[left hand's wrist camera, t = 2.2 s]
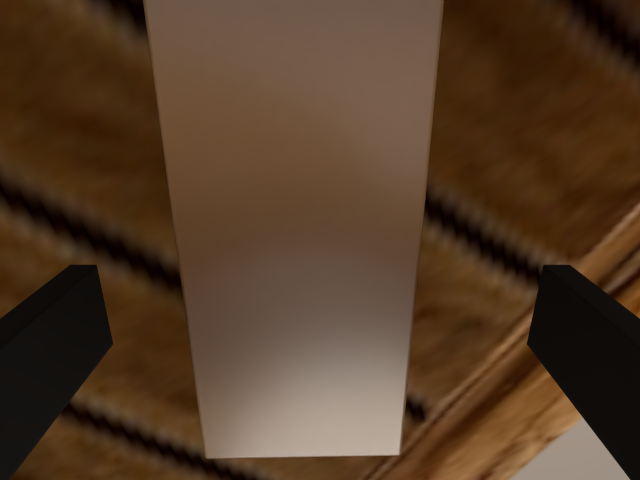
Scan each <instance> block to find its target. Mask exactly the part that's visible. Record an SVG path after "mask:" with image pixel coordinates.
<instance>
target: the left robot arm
mask: <svg viewBox="0 0 640 480" xmlns="http://www.w3.org/2000/svg"><path fill="white" fill-rule="evenodd" d="M112 345H113V341H112V336H111V332H110V327H109V322H108V317H107V313H106V308H105V303H104V298H103V294H102V289H101V284H100V279H99V275H98V270H97V265H70V266H68V267H67V268H66V269H64V270H63V271H62V272H61V273H59V274H58V275H57V276H55V277H54V278H53V279H51V280H50V281H49V282H48V283H46V284H45V285H44V286H42V287H41V288H40V289H38V290H37V291H36V292H35V293H33V294H32V295H31V296H29V297H28V298H27V299H25V300H24V301H23V302H22V303H20V304H19V305H18V306H16V307H15V308H14V309H12V310H11V311H10V312H9V313H7V314H6V315H5V316H3V317H2V318H1V319H0V480H10V478H11V477H12V476H13V474H14V473H15V472H16V471H17V469H18V468H19V467H20V465H21V464H22V463H23V461H24V460H25V459H26V457H27V456H28V455H29V454H30V452H31V451H32V450H33V448H34V447H35V446H36V444H37V443H38V442H39V440H40V439H41V438H42V436H43V435H44V434H45V433H46V431H47V430H48V429H49V427H50V426H51V425H52V423H53V422H54V421H55V419H56V418H57V417H58V416H59V414H60V413H61V412H62V410H63V409H64V408H65V406H66V405H67V404H68V402H69V401H70V400H71V398H72V397H73V396H74V395H75V393H76V392H77V391H78V389H79V388H80V387H81V385H82V384H83V383H84V381H85V380H86V379H87V378H88V376H89V375H90V374H91V372H92V371H93V370H94V368H95V367H96V366H97V364H98V363H99V362H100V360H101V359H102V358H103V357H104V355H105V354H106V353H107V351H108V350H109V349H110V347H111V346H112ZM527 345H528V346H529V347H530V349H531V350H532V351H533V353H534V354H535V355H536V357H537V358H538V359H539V360H540V362H541V363H542V364H543V366H544V367H545V368H546V370H547V371H548V372H549V374H550V375H551V376H552V378H553V379H554V380H555V381H556V383H557V384H558V385H559V387H560V388H561V389H562V391H563V392H564V393H565V395H566V396H567V397H568V398H569V400H570V401H571V402H572V404H573V405H574V406H575V408H576V409H577V410H578V412H579V413H580V414H581V416H582V417H583V418H584V419H585V421H586V422H587V423H588V425H589V426H590V427H591V429H592V430H593V431H594V433H595V434H596V435H597V436H598V438H599V439H600V440H601V442H602V443H603V444H604V446H605V447H606V448H607V450H608V451H609V452H610V454H611V455H612V456H613V457H614V459H615V460H616V461H617V463H618V464H619V465H620V467H621V468H622V469H623V470H624V472H625V473H626V474H627V476H628V477H629V478H630V480H640V319H639V318H638V317H637V316H635V315H634V314H633V313H631V312H630V311H629V310H628V309H626V308H625V307H624V306H622V305H621V304H620V303H618V302H617V301H616V300H615V299H613V298H612V297H611V296H609V295H608V294H607V293H605V292H604V291H603V290H602V289H600V288H599V287H598V286H596V285H595V284H594V283H592V282H591V281H590V280H589V279H587V278H586V277H585V276H583V275H582V274H581V273H579V272H578V271H577V270H576V269H574V268H573V267H572V266H570V265H543V270H542V275H541V279H540V284H539V289H538V294H537V298H536V303H535V308H534V313H533V317H532V322H531V327H530V332H529V336H528V341H527Z"/></svg>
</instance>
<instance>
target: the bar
mask: <svg viewBox="0 0 640 480" xmlns="http://www.w3.org/2000/svg"><path fill="white" fill-rule="evenodd" d="M143 4H144V11H145V19H146V26H147V34H148V41H149V48H150V56H151V63H152V70H153V78H154V85H155V93H156V100H157V107H158V115H159V122H160V130H161V137H162V144H163V152H164V159H165V166H166V174H167V181H168V189H169V196H170V203H171V211H172V218H173V225H174V233H175V240H176V248H177V255H178V262H179V270H180V277H181V285H182V292H183V299H184V307H185V314H186V321H187V329H188V336H189V344H190V351H191V358H192V366H193V373H194V380H195V388H196V395H197V403H198V410H199V417H200V425H201V432H202V439H203V447H204V454H205V458H207V459H218V458H278V457H337V456H397V455H400V454H401V449H402V438H403V428H404V417H405V407H406V396H407V386H408V375H409V365H410V354H411V344H412V333H413V323H414V312H415V302H416V291H417V281H418V270H419V260H420V249H421V238H422V228H423V217H424V207H425V196H426V186H427V175H428V165H429V154H430V144H431V133H432V123H433V112H434V102H435V91H436V81H437V70H438V60H439V49H440V39H441V28H442V18H443V7H444V0H143Z"/></svg>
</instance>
